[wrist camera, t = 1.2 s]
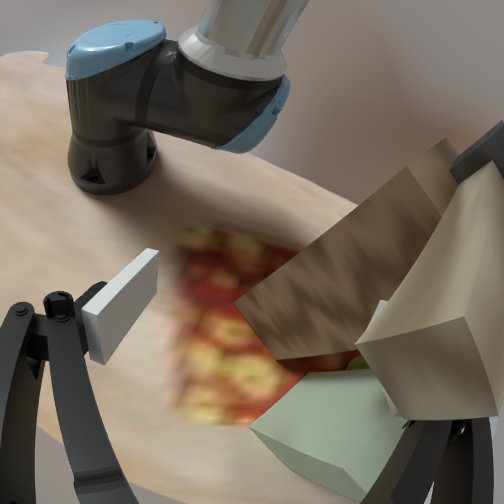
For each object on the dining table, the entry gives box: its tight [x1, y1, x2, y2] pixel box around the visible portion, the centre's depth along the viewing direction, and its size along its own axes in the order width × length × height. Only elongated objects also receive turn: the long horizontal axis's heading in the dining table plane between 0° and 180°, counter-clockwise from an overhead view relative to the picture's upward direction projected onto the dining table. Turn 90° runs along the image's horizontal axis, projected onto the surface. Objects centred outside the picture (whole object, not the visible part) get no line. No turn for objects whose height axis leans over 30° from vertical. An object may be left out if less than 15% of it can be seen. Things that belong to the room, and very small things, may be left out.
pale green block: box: [249, 368, 408, 503], centre depth 25 cm, size 10×12×20 cm
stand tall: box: [233, 138, 459, 360], centre depth 28 cm, size 10×13×30 cm
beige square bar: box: [355, 120, 504, 420], centre depth 10 cm, size 6×22×6 cm, turn 128°
